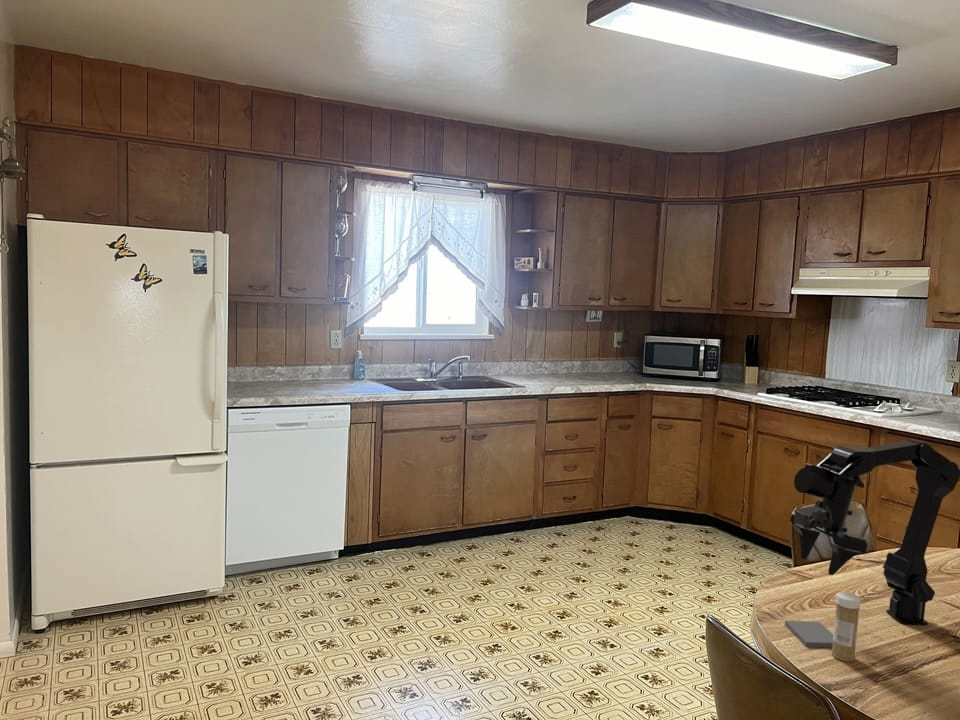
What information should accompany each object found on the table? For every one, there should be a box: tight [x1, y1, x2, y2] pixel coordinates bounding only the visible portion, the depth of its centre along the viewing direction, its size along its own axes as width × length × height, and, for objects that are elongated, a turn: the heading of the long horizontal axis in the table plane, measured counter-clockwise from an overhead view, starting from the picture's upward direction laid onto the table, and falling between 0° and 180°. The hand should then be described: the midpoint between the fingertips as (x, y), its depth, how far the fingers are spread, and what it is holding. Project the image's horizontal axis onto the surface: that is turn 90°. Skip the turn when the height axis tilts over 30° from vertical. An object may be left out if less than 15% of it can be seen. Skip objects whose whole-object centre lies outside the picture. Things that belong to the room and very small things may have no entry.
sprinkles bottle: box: [830, 591, 862, 662], centre depth 151 cm, size 5×5×13 cm
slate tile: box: [784, 620, 834, 648], centre depth 160 cm, size 8×10×1 cm
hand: (816, 566), depth 164 cm, fingers open, 9 cm apart
